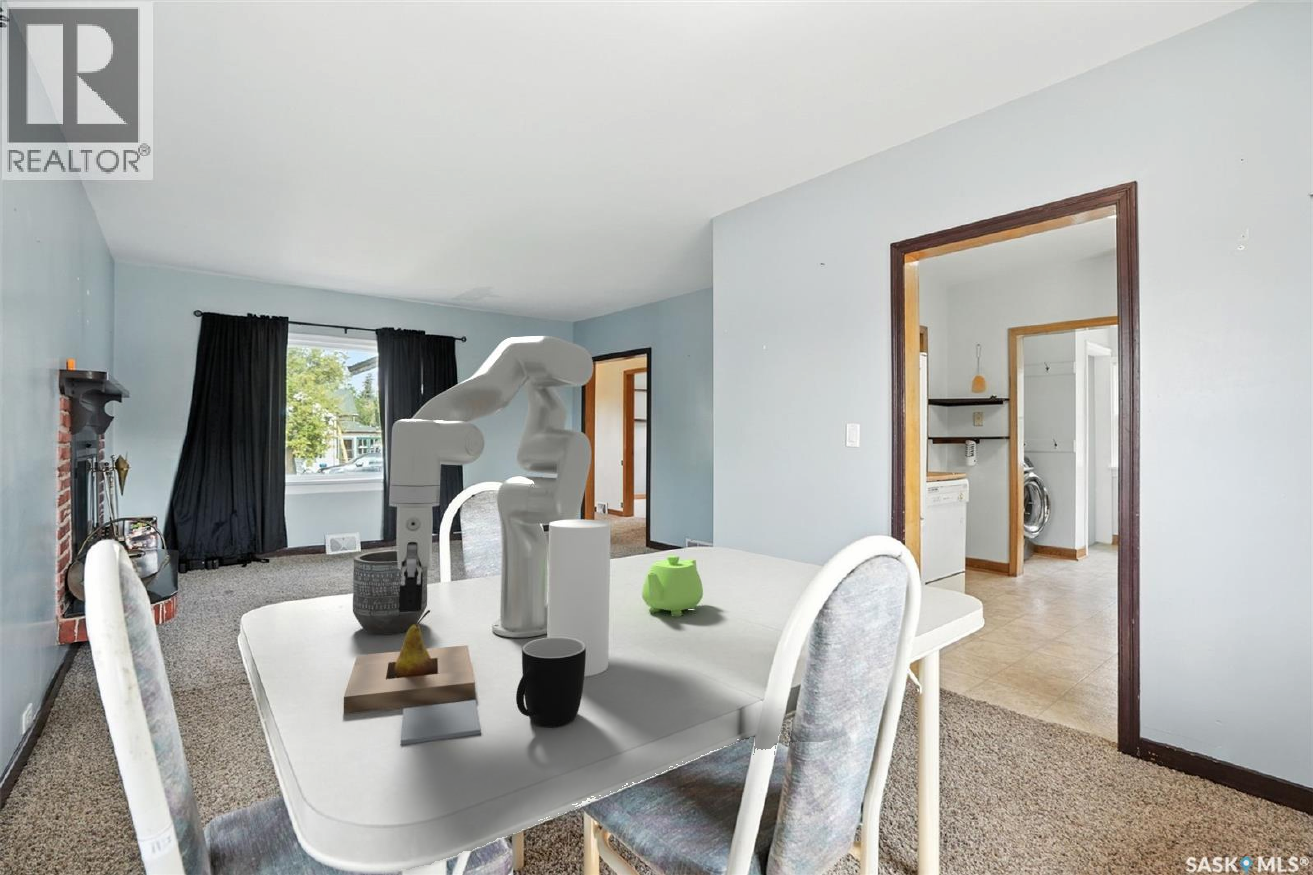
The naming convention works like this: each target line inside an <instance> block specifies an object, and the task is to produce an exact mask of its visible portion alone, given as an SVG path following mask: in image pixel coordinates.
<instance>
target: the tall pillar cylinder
mask: <svg viewBox="0 0 1313 875" xmlns="http://www.w3.org/2000/svg"><path fill="white" fill-rule="evenodd" d="M611 524H612V523H611V522H610V521H604V520H598V519H584V518H582V519H577V518H576V519H574V520H560V521H554V522H551V523H550V524H548V586H547V604H548V622H547V633H546V635H547V636H546V638H550V637H565V638H572V639H576V640H579V641H581V642H583V643H584V644H585V647H586V660H585V674H584V678H586V677H591V676H595V675H598V674H600V673H603V672H604V671H606V670H608V668H609V649H610V648H609V646H610V645H609V643H610V642H609V640H610V639H609V637H610V636H609V635H610V593H611V592H610V591H611V590H610V586H611V584H610V583H611V582H610V581H611V533H612V532H611V531H612V530H611V526H612V525H611Z"/></svg>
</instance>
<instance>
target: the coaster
mask: <svg viewBox="0 0 1313 875" xmlns="http://www.w3.org/2000/svg"><path fill="white" fill-rule="evenodd" d="M477 706H478V705H477V700H476V699H470V700H462V701H454V702H445V703H437V704H429V705H420V706H412V707H404V708H403V710H402V720H401V731H400V732H401V733H400V746H402V745H409V744H417V743H423V742H431V741H439V740H445V739H447V740H448V739H453V738H460V737H467V736H468V737H469V736H475V735H481V734H482V730H481V722H480V717H479V713H478V711H479V710H478V707H477Z"/></svg>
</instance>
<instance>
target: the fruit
mask: <svg viewBox="0 0 1313 875" xmlns="http://www.w3.org/2000/svg"><path fill="white" fill-rule="evenodd" d="M430 613H431V610H429V609H428V610H427V611H425V613H423V614H422V616H421V618H420V619H419V621H418V622H417V624H413V625H412V626H411V627H410V628H409V629H408V631H406V635H405V637H404V641H403V643H402V647H401V650H400V651H401V652H400V655H399V657H398V659H397V661H396V664H395V676H396V677H395V678H404V677H414V676H423V675H431V673H430V672H431V668H432V662H431V658H430V655H429V653H428V651H427V649H428V648H427V647H426V646H425V645H426V644H425V643H424V638H423V634H422V631H421V627H420V625H419V624H420V623H421V622H422V620H424V618H426V616H427V615H429V614H430Z"/></svg>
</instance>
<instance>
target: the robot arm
mask: <svg viewBox="0 0 1313 875" xmlns="http://www.w3.org/2000/svg"><path fill="white" fill-rule="evenodd" d="M593 373H594V362H593V358H592V356H591V354H590V353H589V351H588V350H587V348H585V347H583V346H581V345H579V344H576V343H573V342H569V341H567V340H564V339H561V338H558V337H554V336H551V335H549V336H548V335H535V336H518V337H517V336H516V337H509V338H506V339H505V340H503V341H502V342H501V343H499V344H498V345H497V346H496V347H495V349H494V350H493V351H492V352H491V353H490V354H489V355H488V357H487V358H486V359H485V361H483V363H482V364H481V365H480V366H479V367H478V369H477V370H476V371H475V372H474V373H473V375H471V376H470V377H469V378H468V379H464V380H463V381H461V382H459V383H458V384H455V385H454V386H452V387H451V388H449V389H446V390H445V391H443V392H441V393H439V394H437V395H436V396H434V397H433V398H431V399H430V400H428V401H427V402H426V403H425V404H423V406H421V407H420V409H419V410H418V411H417V412H416V413H415V414H413V416H412V417H411V418H410V419H409V418H408V419H407V418H405V419H403V418H402V419H399V420H397V421H395V422H394V423H393V425H392V428H391V446H390V450H391V451H390V472H389V473H390V476H389V477H390V478H389V501H388V502H389V504H388V506H389V507H394V508H396V550H397V562H398V569H399V570H401V571H402V581H401V585H400V592H399V611H400V612H413V611H420V610H421V606H422V579H423V572H421V568H422V567H427V570H428V571H429V570H430V569H431V568H432V554H433V553H432V551H433V548H432V547H433V546H432V545H433V529H434V527H433V526H434V525H433V523H434V522H433V515H434V514H433V507H438V506H440V496H441V495H440V494H441V493H440V492H441V471H442V470H441V469H442V468H441V467H442V465H446V466H449V465H450V466H453V465H454V466H465V465H469V464H471V463H474V462H476V461H477V460H478V459H479V458H480V457H481V455H482V453H483V452H484V449H485V438H484V435H483V433H482V431H481V429H479V428H478V427H477V426H476V425H474V424H473V423H471V421H474V420H478V419H482V418H485V417H488V416H492V415H494V414H497V413H499V412H501V411H504V410H505V409H506V408H507V407H508V406H509V405H510V403H511V402H512V400H513V399H514V397H515V396H516V395H517V393H518V392H519V391H520V390H521V388H522V387H523V391H524V392H525V396H526V398H527V404H528V406H527V408H528V409H527V414H526V418H525V421H524V426H523V430H522V433H521V437H520V440H519V444H518V448H517V454H516V460H517V461H516V462H517V465H518V466H519V468H520V469H522V470H523V471H525V472H527V473H532V474H533V473H534V474H542V475H544V474H546V475H557V476H556V477H543V476H529V475H528V476H527V475H525V476H524V475H522V476H521V475H520V476H518V475H517V476H513V477H510V478H508V479H506V480H505V481H504V482H502V483H501V485H500V486H499V488H498V491H497V495H496V503H497V505H496V506H497V511H498V516H499V521H500V534H501V535H500V536H501V546H500V547H501V550H500V552H501V556H500V558H501V563H500V564H501V565H500V567H501V568H500V614H499V615H500V616H499V617H500V619H497V620H495V621H494V622H493V623H492V626H491V627H492V628H491V629H492V632H493V633H494V634H496V635H498V636H502V637H505V638H506V637H507V638H531V637H538V636H542V635H545V634H546V635H547V622H548V562H549V540H548V538H547V534H546V533H545V531H544V529H543V527H542V525H549V524H550V523H551V522H554V521H560V520H574V519H577V517H578V516H579V513H580V510H581V507H582V503H583V499H584V495H585V490H586V486H587V482H588V478H589V477H588V476H589V474H590V473H589V472H590V468H591V463H592V447H591V442H590V440H589V438H588V436H587V435H586V434H585V433H584V432H583V431H580V430H578V429H576V430H575V429H565V428H566V422H567V416H568V412H567V407H566V405H565V403H564V401H563V399H562V398H561V397H560V395H559V393H558V392H557V391H556V389H555V388H557V387H558V388H560V387H561V388H563V387H564V388H565V387H569V388H570V387H572V388H573V387H581V386H582V387H583V386H585V385H586V384H587V383H588V382H589V381H590V380H591V378H592V377H593ZM421 564H422V566H421Z"/></svg>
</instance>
